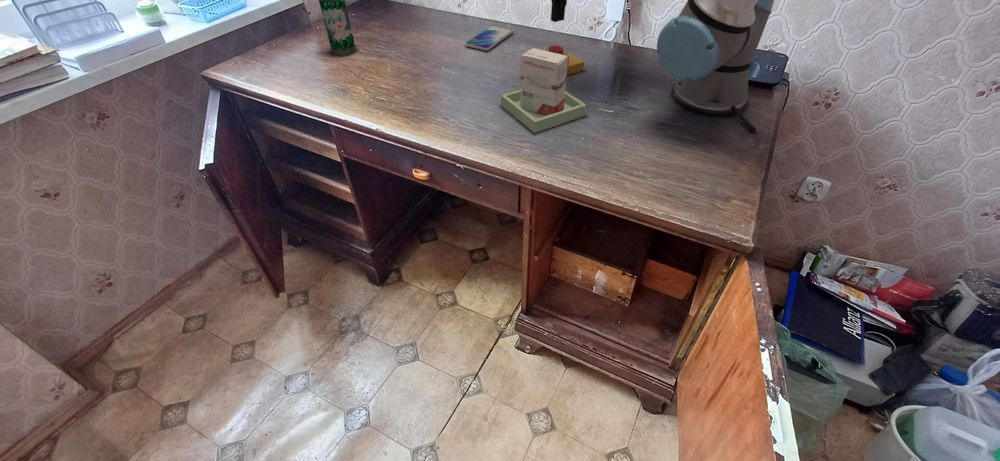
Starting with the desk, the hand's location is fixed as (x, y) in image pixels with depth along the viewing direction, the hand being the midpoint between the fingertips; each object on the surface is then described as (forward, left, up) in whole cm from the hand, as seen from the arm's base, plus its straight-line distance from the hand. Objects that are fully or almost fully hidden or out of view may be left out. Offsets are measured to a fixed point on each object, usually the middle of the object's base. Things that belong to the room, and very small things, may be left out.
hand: (557, 19), depth 107 cm
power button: (0, 0, -8) cm, 8 cm away
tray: (-15, +14, -12) cm, 24 cm away
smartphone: (+25, +4, -12) cm, 28 cm away
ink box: (-15, +14, -12) cm, 24 cm away
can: (+39, +41, -12) cm, 58 cm away
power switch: (0, 0, -12) cm, 12 cm away
